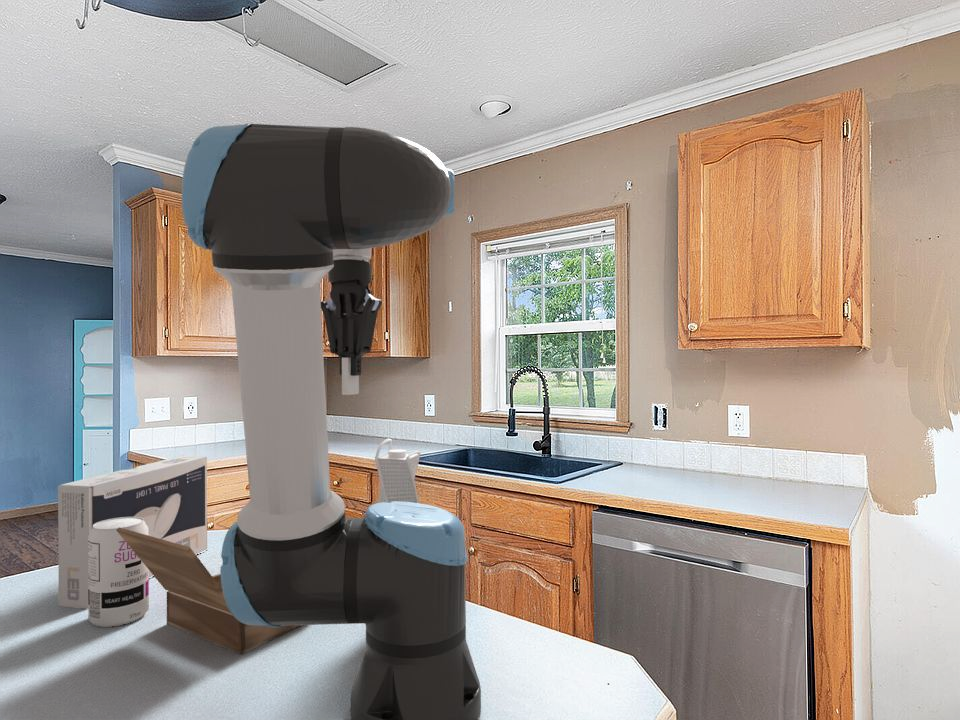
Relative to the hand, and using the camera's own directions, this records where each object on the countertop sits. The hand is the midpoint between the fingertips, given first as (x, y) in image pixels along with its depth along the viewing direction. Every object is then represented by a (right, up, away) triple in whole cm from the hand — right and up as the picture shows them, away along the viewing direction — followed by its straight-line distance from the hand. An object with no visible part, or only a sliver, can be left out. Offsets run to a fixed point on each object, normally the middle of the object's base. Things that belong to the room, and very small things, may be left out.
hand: (350, 394), depth 108 cm
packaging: (-41, -35, +7) cm, 54 cm away
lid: (-18, -29, -19) cm, 39 cm away
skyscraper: (+10, -35, -13) cm, 38 cm away
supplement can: (-34, -35, -12) cm, 50 cm away
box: (-14, -35, -13) cm, 39 cm away
